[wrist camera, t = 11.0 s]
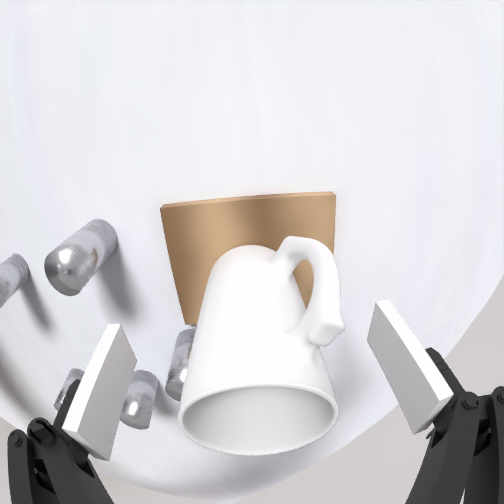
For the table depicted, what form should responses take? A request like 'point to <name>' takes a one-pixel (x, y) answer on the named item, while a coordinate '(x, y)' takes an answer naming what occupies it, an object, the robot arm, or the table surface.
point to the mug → (263, 352)
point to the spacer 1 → (12, 276)
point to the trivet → (241, 236)
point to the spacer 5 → (179, 364)
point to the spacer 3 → (70, 379)
